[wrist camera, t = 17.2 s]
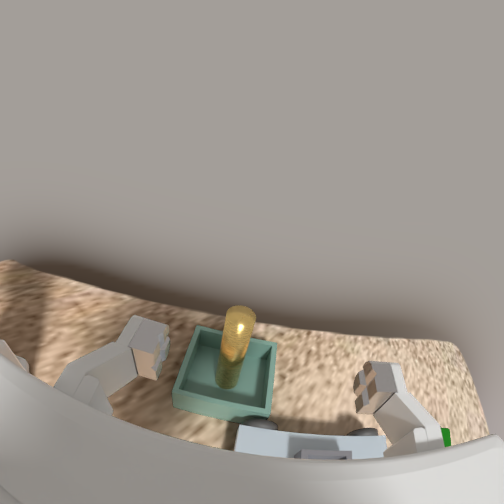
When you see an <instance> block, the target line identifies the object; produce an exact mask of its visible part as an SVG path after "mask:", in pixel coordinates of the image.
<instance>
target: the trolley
mask: <svg viewBox="0 0 504 504" xmlns="http://www.w3.org/2000/svg"><path fill="white" fill-rule="evenodd" d="M386 449H387V445H386V437H385V436H378V431H377V429H375V428H363V429H358V430H355V431H352V432H350V433H349V434H347V435H346V436H333V435H316V434H304V433H293V432H285V431H278V426H277V424H275V423H274V422H271V421H268V420H263V419H249V420H246V421H244V422H243V423H242V425H239V427H238V430H237V435H236V440H235V446H234V451H236V452H242V453H248V454H255V455H263V456H272V457H282V458H295V459H316V460H348V459H368V458H381V457H384V455H383V452H384V451H385V450H386Z"/></svg>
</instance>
